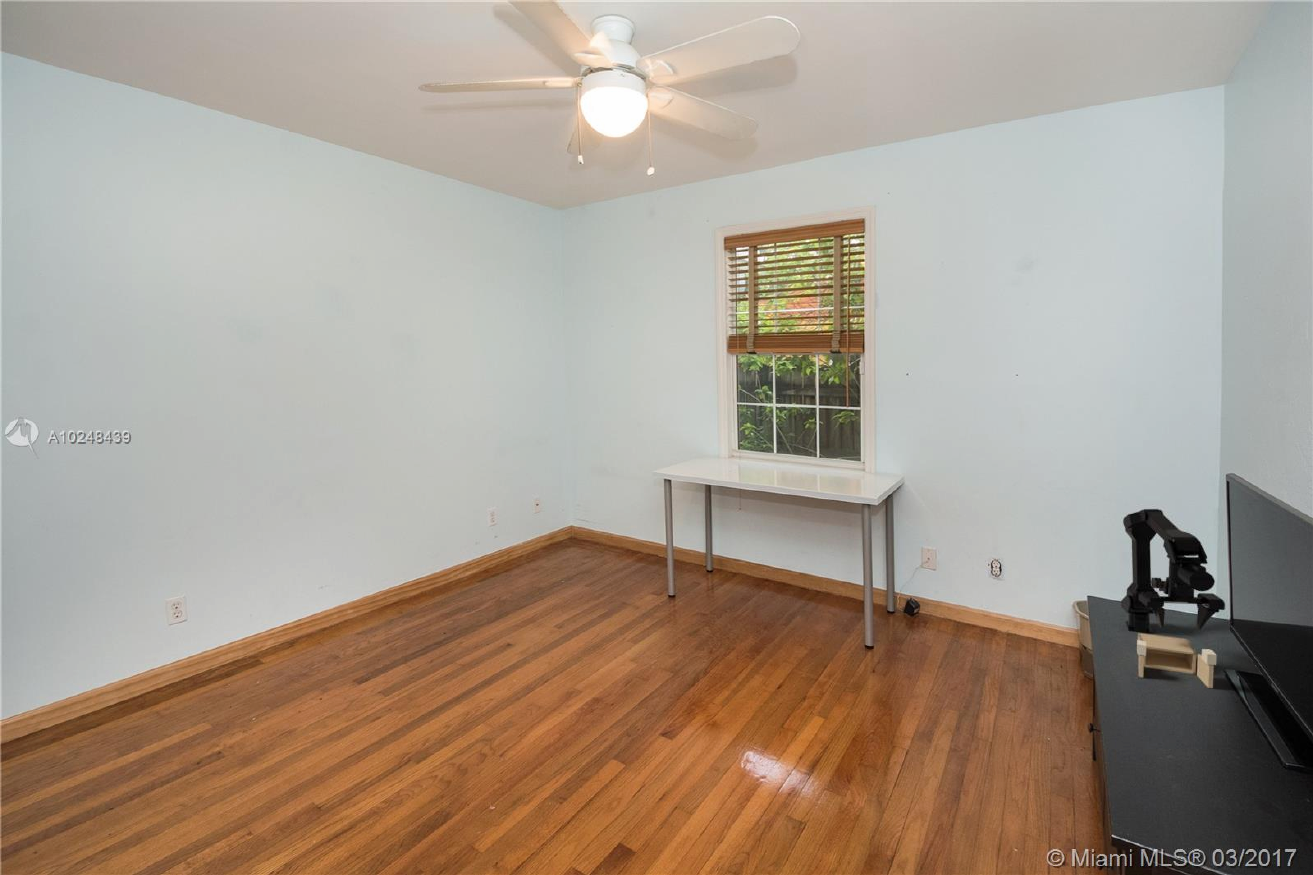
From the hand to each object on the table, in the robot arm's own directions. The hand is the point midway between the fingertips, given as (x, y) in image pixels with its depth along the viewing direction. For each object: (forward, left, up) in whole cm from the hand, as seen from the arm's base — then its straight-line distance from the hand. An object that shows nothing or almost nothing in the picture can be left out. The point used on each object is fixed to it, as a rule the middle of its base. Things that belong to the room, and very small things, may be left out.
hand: (1179, 627), depth 177 cm
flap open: (+8, +4, -12) cm, 15 cm away
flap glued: (+8, -10, -12) cm, 18 cm away
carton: (-1, -3, -12) cm, 12 cm away
